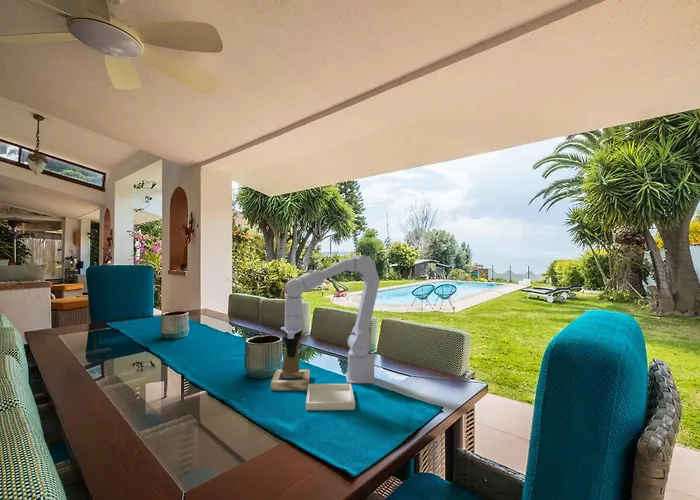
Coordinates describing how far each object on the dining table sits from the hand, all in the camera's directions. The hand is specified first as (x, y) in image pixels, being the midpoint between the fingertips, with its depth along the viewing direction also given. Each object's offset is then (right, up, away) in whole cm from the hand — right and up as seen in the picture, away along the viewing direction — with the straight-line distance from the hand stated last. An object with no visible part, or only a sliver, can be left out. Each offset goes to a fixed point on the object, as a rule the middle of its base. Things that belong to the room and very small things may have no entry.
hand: (292, 354), depth 115 cm
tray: (+14, -10, -12) cm, 21 cm away
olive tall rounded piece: (-1, -5, 0) cm, 5 cm away
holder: (0, -10, 0) cm, 10 cm away
